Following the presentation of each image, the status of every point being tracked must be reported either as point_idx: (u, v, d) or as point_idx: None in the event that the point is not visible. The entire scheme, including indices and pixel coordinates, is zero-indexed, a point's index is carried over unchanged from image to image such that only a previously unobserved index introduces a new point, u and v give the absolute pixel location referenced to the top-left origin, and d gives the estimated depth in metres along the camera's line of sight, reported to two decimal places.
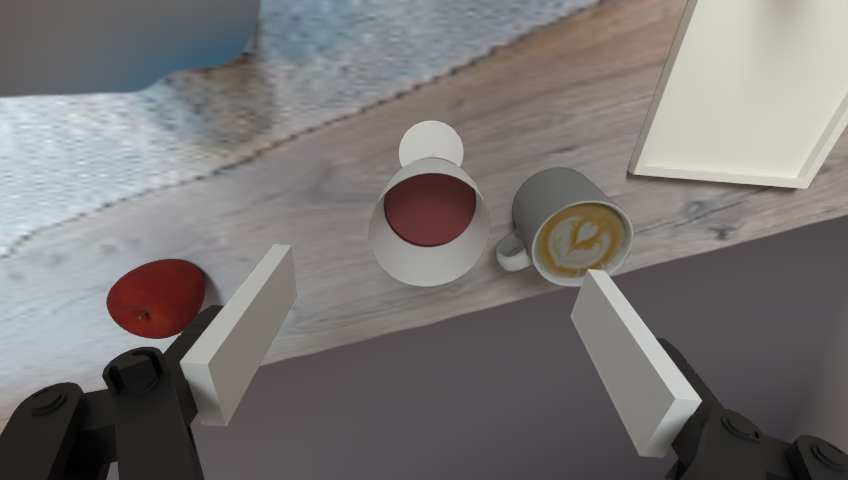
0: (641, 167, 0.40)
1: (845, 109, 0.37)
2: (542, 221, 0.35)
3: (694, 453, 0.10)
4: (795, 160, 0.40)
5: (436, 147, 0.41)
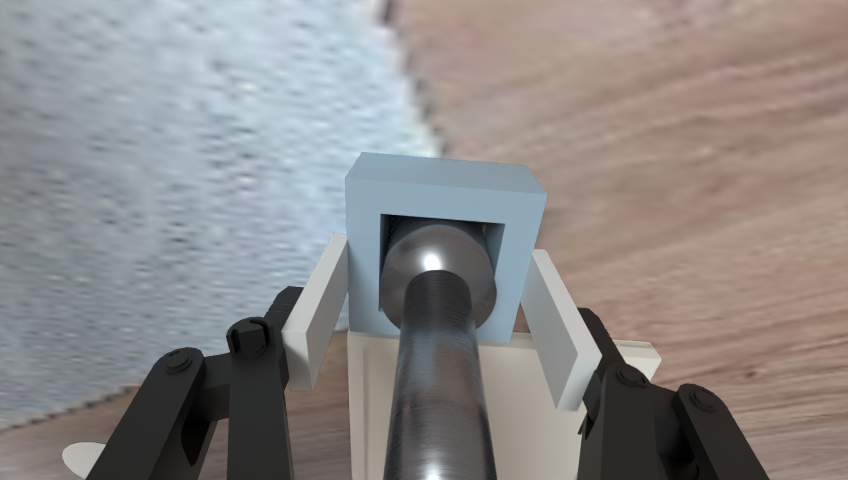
0: None
1: None
2: None
3: (598, 407, 0.11)
4: None
5: None
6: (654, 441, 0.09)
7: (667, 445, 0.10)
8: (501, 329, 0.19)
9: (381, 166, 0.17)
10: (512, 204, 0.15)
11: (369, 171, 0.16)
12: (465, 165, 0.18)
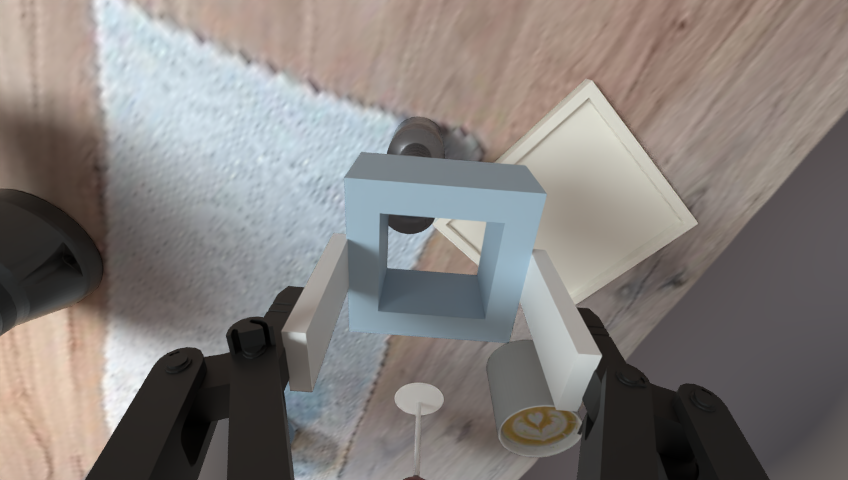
0: None
1: (648, 175, 0.36)
2: (498, 437, 0.43)
3: (598, 407, 0.11)
4: (661, 216, 0.39)
5: (416, 398, 0.54)
6: (654, 441, 0.09)
7: (667, 445, 0.10)
8: (501, 329, 0.19)
9: (380, 166, 0.17)
10: (511, 204, 0.15)
11: (369, 171, 0.16)
12: (465, 164, 0.18)
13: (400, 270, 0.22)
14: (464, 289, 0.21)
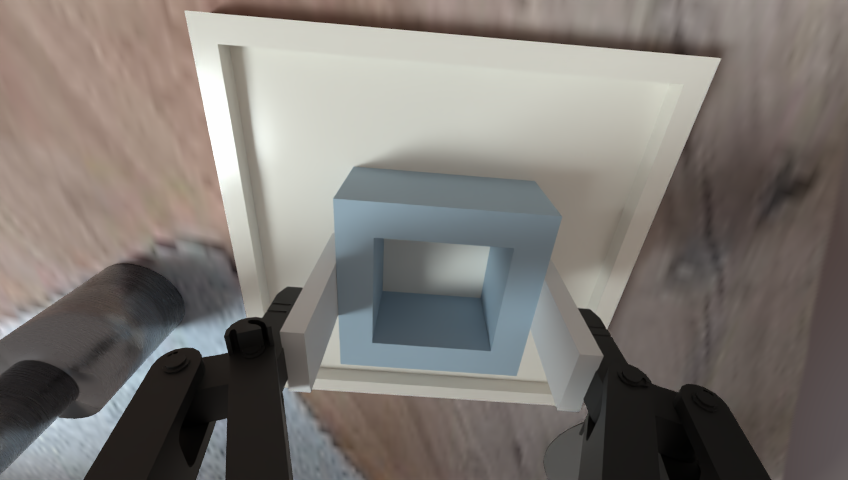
0: None
1: (491, 66, 0.14)
2: None
3: (599, 408, 0.11)
4: (616, 108, 0.15)
5: None
6: (656, 442, 0.09)
7: (669, 446, 0.10)
8: (508, 361, 0.17)
9: (374, 183, 0.15)
10: (522, 227, 0.14)
11: (361, 189, 0.14)
12: (468, 180, 0.16)
13: (397, 293, 0.20)
14: (467, 315, 0.19)
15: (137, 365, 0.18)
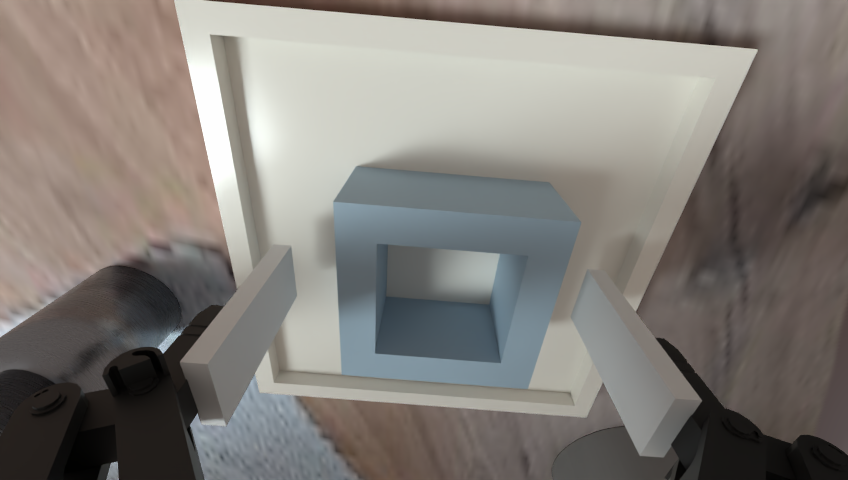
0: (575, 410, 0.22)
1: (505, 58, 0.13)
2: None
3: (694, 453, 0.10)
4: (639, 105, 0.14)
5: None
6: None
7: None
8: (519, 373, 0.16)
9: (378, 185, 0.14)
10: (537, 233, 0.13)
11: (364, 191, 0.13)
12: (478, 182, 0.15)
13: (401, 299, 0.19)
14: (475, 323, 0.18)
15: None
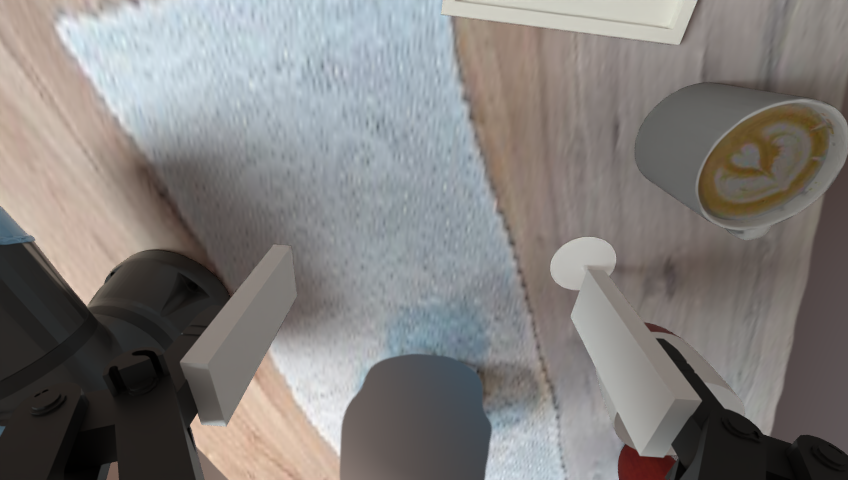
0: (672, 35, 0.30)
1: None
2: (706, 219, 0.29)
3: (694, 453, 0.10)
4: None
5: (577, 262, 0.42)
6: None
7: None
8: None
9: None
10: None
11: None
12: None
13: None
14: None
15: None
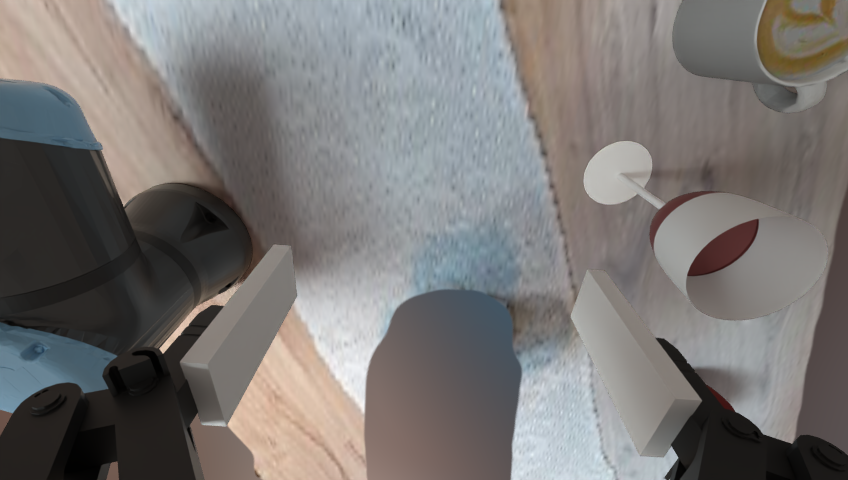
0: None
1: None
2: (763, 76, 0.27)
3: (694, 453, 0.10)
4: None
5: (612, 170, 0.40)
6: None
7: None
8: None
9: None
10: None
11: None
12: None
13: None
14: None
15: None
